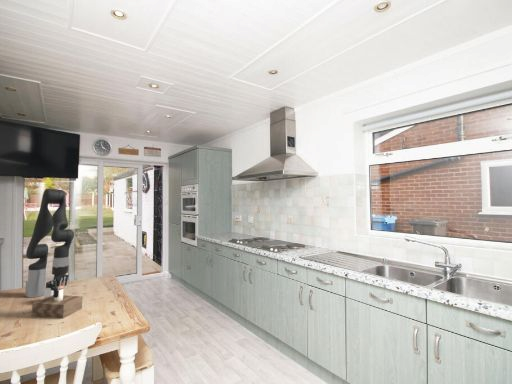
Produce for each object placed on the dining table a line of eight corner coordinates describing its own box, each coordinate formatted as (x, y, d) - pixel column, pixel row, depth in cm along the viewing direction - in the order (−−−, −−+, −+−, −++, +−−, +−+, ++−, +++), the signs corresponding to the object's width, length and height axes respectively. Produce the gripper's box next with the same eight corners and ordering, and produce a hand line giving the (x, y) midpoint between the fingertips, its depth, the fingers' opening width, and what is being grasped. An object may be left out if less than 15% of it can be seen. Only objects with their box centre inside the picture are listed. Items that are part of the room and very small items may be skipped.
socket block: (31, 316, 146) (32, 303, 147) (52, 306, 160) (53, 294, 161) (63, 318, 145) (63, 304, 145) (81, 308, 159) (82, 296, 159)
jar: (58, 303, 166) (59, 283, 167) (42, 304, 163) (43, 284, 164) (62, 298, 174) (64, 279, 175) (47, 299, 172) (49, 280, 172)
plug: (51, 311, 151) (53, 287, 152) (57, 308, 155) (58, 285, 156) (58, 311, 151) (59, 287, 151) (63, 308, 155) (65, 285, 155)
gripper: (61, 262, 161) (58, 292, 160) (45, 267, 147) (42, 300, 146) (74, 262, 161) (72, 292, 161) (60, 267, 147) (57, 300, 146)
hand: (58, 295), depth 153 cm, fingers closed on plug, 4 cm apart
